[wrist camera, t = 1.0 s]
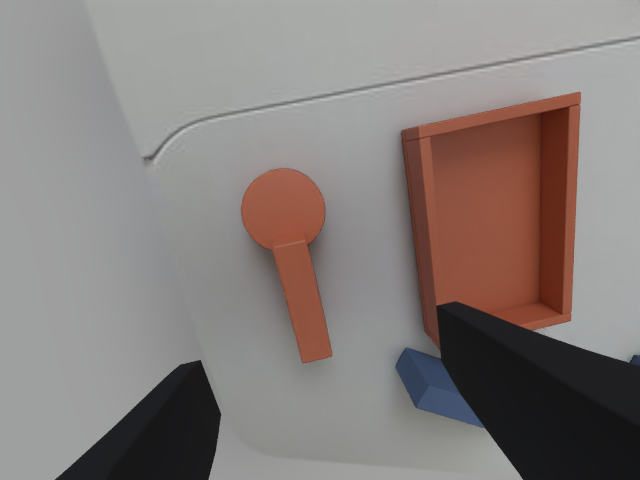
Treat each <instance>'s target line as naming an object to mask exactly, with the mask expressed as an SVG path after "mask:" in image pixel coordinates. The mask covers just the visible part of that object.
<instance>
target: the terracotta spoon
mask: <svg viewBox="0 0 640 480" xmlns="http://www.w3.org/2000/svg"><path fill="white" fill-rule="evenodd" d="M241 214H242V220H243V223H244V226H245V228H246V230H247V232H248V233H249V235H250V236H251V237H252V238H253V239H254V240H255V241H256V242H257V243H258V244H260V245H261V246H263V247H265V248H267V249H269V250H272V251H273V254H274V258H275V262H276V266H277V269H278V273H279V277H280V281H281V284H282V288H283V292H284V296H285V299H286V303H287V307H288V311H289V315H290V318H291V322H292V326H293V330H294V333H295V337H296V341H297V345H298V348H299V352H300V356H301V360H302V362H303V363H307V362H311V361H316V360H320V359H324V358H328V357H332V350H331V345H330V340H329V335H328V330H327V325H326V321H325V316H324V312H323V307H322V303H321V299H320V294H319V290H318V285H317V281H316V277H315V272H314V268H313V263H312V259H311V255H310V250H309V246H308V244H309V243H311V242H312V241H313V240H314V239H315V238H316V237H317V235H318V234H319V232H320V231H321V229H322V226H323V223H324V220H325V203H324V200H323V197H322V194H321V192H320V191H319V189H318V187H317V186H316V185H315V184H314V182H313V181H312V180H311V179H310V178H309V177H307V176H306V175H304V174H303V173H301V172H299V171H296V170H293V169H287V168H280V169H274V170H271V171H269V172H266V173H264V174H263V175H261V176H259V177H258V178H257V179H255V180H254V181H253V182H252V183H251V184H250V186H249V187H248V189H247V190H246V192H245V194H244V197H243V200H242V206H241Z"/></svg>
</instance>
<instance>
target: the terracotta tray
mask: <svg viewBox="0 0 640 480" xmlns="http://www.w3.org/2000/svg"><path fill="white" fill-rule="evenodd" d="M580 101H581V92H576V93H571V94H566V95H562V96H557V97H552V98H548V99H543V100H538V101H534V102H529V103H524V104H520V105H515V106H510V107H506V108H501V109H496V110H492V111H487V112H482V113H478V114H473V115H468V116H463V117H459V118H454V119H449V120H445V121H440V122H435V123H431V124H426V125H421V126H417V127H413V128H409V129H405V130H402V131H401V132H402V140H403V149H404V157H405V165H406V174H407V182H408V191H409V199H410V208H411V216H412V224H413V233H414V241H415V250H416V258H417V266H418V275H419V283H420V292H421V300H422V309H423V317H424V325H425V332H426V333H427V334H428V335H429V337H430V338H431V339H432V341H433V342H434V343H435V345H436V346H437V347H438V349H439V350H440V341H439V331H438V320H437V310H436V306H437V305H441V304H445V303H450V302H454V301H457V302H460V303H463V304H465V305H468V306H471V307H473V308H476V309H478V310H481V311H483V312H486V313H488V314H491V315H493V316H496V317H498V318H501V319H503V320H506V321H508V322H511V323H513V324H516V325H518V326H521V327H523V328H526V329H529V330H536V329H540V328H544V327H548V326H552V325H556V324H561V323H565V322H569V321H571V309H572V286H573V263H574V239H575V216H576V193H577V170H578V147H579V124H580V105H579V104H580Z"/></svg>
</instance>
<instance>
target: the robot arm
mask: <svg viewBox="0 0 640 480" xmlns="http://www.w3.org/2000/svg"><path fill="white" fill-rule="evenodd" d="M436 310H437V320H438V331H439V341H440V351H441V361H442V363H443V365H444V367H445V369H446V370H447V372H448V374H449V376H450V378H451V379H452V381H453V383H454V384H455V386H456V388H457V389H458V391H459V393H460V394H461V396H462V397H463V398H464V400H465V401H466V403H467V404H468V405H469V407H470V408H471V409H472V411H473V412H474V414H475V415H476V416H477V418H478V419H479V420H480V422H481V423H482V424H483V426H484V427H485V428H486V430H487V431H488V432H489V434H490V435H491V436H492V438H493V439H494V441H495V442H496V443H497V445H498V446H499V447H500V449H501V450H502V451H503V453H504V454H505V455H506V457H507V458H508V459H509V461H510V462H511V463H512V465H513V466H514V467H515V469H516V470H517V471H518V473H519V474H520V476H521V477H522V479H523V480H640V366H639V365H635V364H632V363H628V362H625V361H621V360H618V359H614V358H611V357H607V356H604V355H601V354H598V353H594V352H591V351H588V350H585V349H582V348H579V347H576V346H573V345H570V344H568V343H565V342H562V341H559V340H556V339H553V338H550V337H547V336H545V335H542V334H539V333H537V332H534V331H531V330H529V329H526V328H523V327H521V326H518V325H516V324H513V323H511V322H508V321H506V320H503V319H501V318H498V317H496V316H493V315H491V314H488V313H486V312H483V311H481V310H478V309H476V308H473V307H471V306H468V305H465V304H463V303H460V302H457V301H454V302H450V303H445V304H441V305H437V306H436ZM220 418H221V413H220V410H219V407H218V405H217V402H216V400H215V397H214V394H213V391H212V389H211V386H210V384H209V381H208V378H207V376H206V373H205V370H204V368H203V365H202V362H201V360H199V361H194V362H190V363H186V364H181V365H180V366H178V367H177V368H176V369H174V370H173V371H172V372H171V373H170V374H169V375H168V376H167V377H165V378H164V379H163V380H162V381H161V382H160V383H159V384H158V385H157V386H156V387H155V388H154V389H153V390H152V391H151V392H150V393H149V394H148V395H147V396H146V397H145V398H144V399H142V400H141V401H140V402H139V403H138V404H137V405H136V406H135V407H134V408H133V409H132V410H131V411H130V412H129V413H128V414H127V415H126V416H125V417H124V418H123V419H122V420H121V421H119V422H118V423H117V424H116V425H115V426H114V427H113V428H112V429H111V430H110V431H109V432H108V433H107V434H106V435H104V436H103V437H102V438H101V439H100V440H99V441H98V442H97V443H96V444H94V445H93V446H92V447H91V448H90V449H89V450H88V451H87V452H86V453H85V454H84V455H82V456H81V457H80V458H79V459H78V460H77V461H76V462H75V463H74V464H72V466H71V467H69V468H68V469H67V470H66V471H64V472H63V473H62V474H61V475H60V476H59V477H58V478H56V479H55V480H208V479H209V475H210V471H211V468H212V463H213V460H214V456H215V452H216V445H217V439H218V433H219V425H220Z"/></svg>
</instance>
